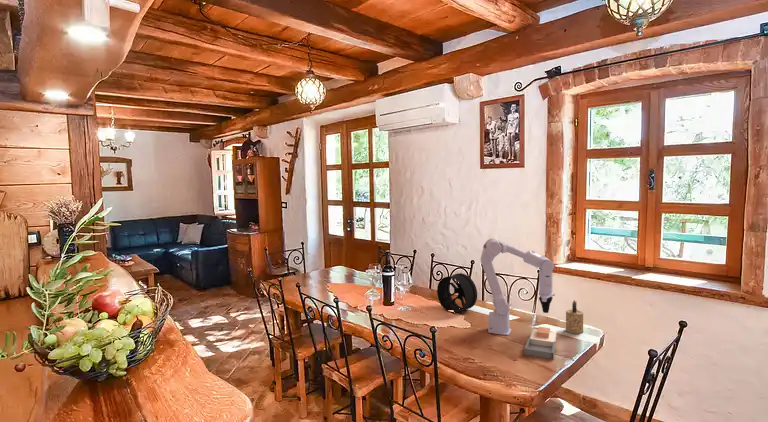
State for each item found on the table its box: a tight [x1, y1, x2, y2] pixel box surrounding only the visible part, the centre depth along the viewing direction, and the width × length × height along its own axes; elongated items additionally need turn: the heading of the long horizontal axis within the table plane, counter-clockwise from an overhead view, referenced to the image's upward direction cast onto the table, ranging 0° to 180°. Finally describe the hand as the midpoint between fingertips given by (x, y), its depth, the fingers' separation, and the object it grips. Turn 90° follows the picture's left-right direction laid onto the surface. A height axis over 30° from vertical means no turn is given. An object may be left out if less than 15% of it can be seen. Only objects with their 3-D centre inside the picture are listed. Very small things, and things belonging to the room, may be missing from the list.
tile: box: [537, 326, 551, 338], centre depth 183 cm, size 5×7×2 cm
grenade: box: [565, 299, 584, 335], centre depth 191 cm, size 8×7×15 cm
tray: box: [523, 337, 557, 361], centre depth 171 cm, size 11×12×3 cm
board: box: [529, 328, 558, 347], centre depth 182 cm, size 10×12×2 cm
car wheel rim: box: [436, 272, 478, 314], centre depth 225 cm, size 20×10×20 cm, turn 40°
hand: (545, 312), depth 191 cm, fingers closed
